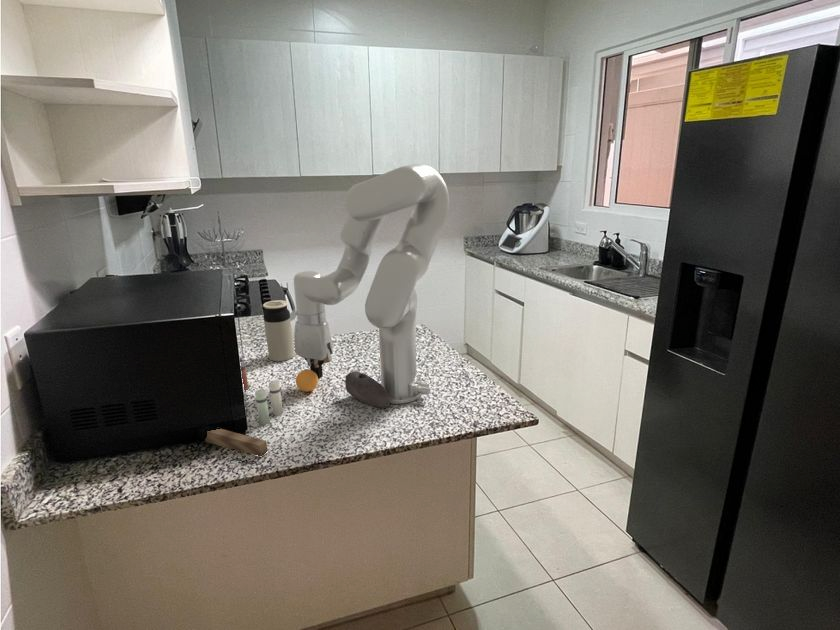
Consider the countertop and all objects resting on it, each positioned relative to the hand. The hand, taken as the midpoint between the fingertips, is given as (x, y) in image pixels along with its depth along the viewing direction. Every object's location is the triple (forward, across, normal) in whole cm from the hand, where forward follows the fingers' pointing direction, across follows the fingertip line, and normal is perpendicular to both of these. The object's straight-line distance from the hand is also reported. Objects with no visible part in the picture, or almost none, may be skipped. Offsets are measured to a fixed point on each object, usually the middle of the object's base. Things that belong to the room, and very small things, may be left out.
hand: (317, 378), depth 138 cm
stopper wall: (+2, +2, -33) cm, 33 cm away
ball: (-1, 0, -5) cm, 5 cm away
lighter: (+2, -19, -12) cm, 22 cm away
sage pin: (+2, +2, -23) cm, 23 cm away
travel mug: (+2, -22, +10) cm, 25 cm away
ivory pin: (+2, +1, -18) cm, 18 cm away
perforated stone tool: (+2, +19, -3) cm, 20 cm away
